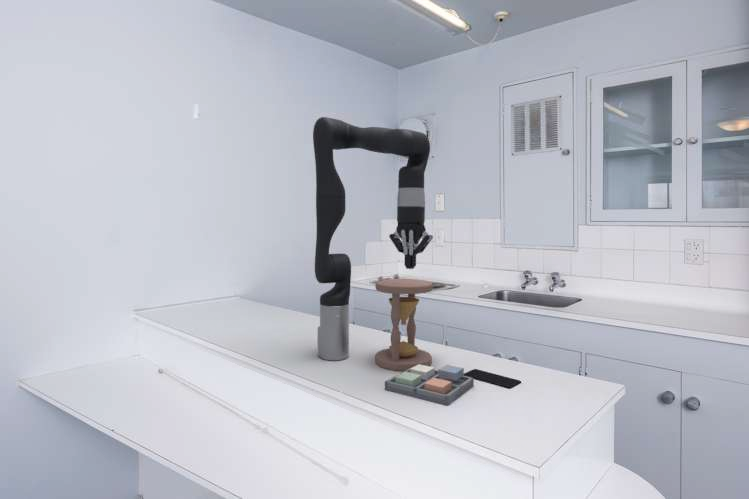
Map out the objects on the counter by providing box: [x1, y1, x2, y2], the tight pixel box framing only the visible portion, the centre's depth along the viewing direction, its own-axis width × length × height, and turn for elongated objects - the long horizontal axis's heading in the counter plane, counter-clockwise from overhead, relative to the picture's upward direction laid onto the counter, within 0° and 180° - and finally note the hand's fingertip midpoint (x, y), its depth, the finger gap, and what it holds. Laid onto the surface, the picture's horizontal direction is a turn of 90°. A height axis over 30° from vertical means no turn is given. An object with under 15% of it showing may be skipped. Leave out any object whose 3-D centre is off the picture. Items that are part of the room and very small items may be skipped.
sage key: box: [395, 371, 422, 387], centre depth 123 cm, size 5×5×2 cm
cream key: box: [410, 364, 436, 379], centre depth 130 cm, size 5×5×2 cm
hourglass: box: [374, 278, 434, 372], centre depth 145 cm, size 18×18×25 cm
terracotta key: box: [425, 378, 451, 394], centre depth 119 cm, size 5×5×2 cm
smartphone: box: [464, 368, 522, 390], centre depth 131 cm, size 7×1×15 cm
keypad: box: [384, 366, 475, 407], centre depth 124 cm, size 18×16×2 cm
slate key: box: [437, 364, 465, 381], centre depth 125 cm, size 5×5×2 cm
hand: (410, 268), depth 129 cm, fingers closed
